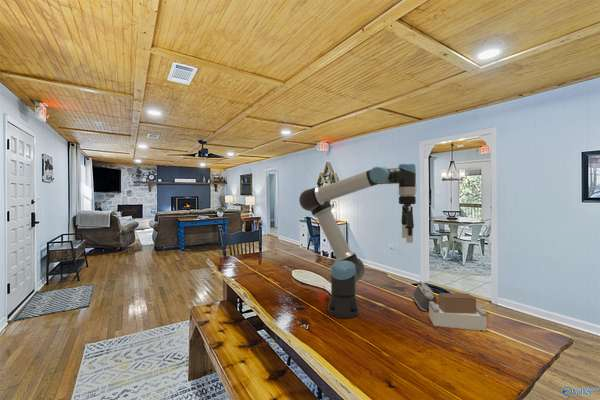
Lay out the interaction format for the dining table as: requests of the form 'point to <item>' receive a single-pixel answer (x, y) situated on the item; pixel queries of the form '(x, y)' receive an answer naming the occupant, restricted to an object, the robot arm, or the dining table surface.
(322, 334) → the dining table surface
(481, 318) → the stand
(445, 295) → the case
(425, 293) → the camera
